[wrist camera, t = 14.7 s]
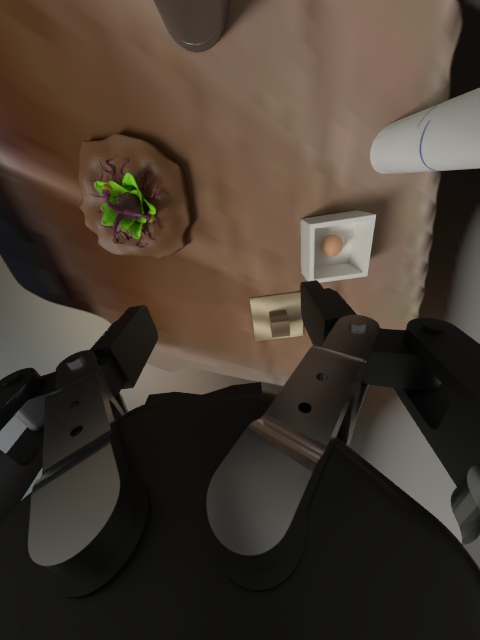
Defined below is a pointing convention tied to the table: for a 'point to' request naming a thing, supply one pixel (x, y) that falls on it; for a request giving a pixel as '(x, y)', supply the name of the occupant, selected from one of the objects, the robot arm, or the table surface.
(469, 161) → the cylindrical container
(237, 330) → the table surface
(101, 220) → the plant
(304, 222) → the off-white box
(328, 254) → the terracotta ball
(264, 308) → the oak lid
